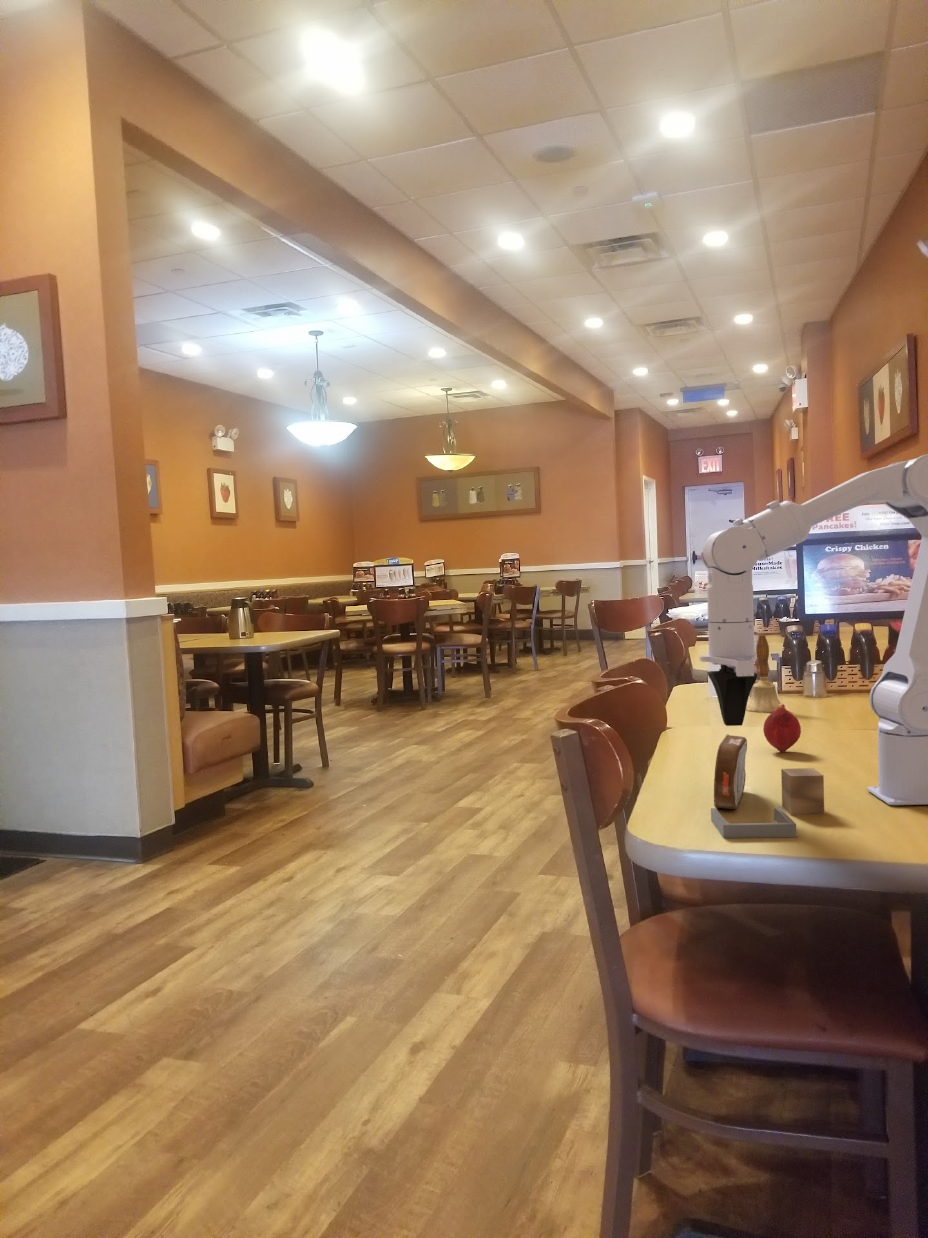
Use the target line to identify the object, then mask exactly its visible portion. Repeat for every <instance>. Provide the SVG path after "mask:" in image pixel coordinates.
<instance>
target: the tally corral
mask: <svg viewBox="0 0 928 1238" xmlns="http://www.w3.org/2000/svg"><path fill="white" fill-rule="evenodd" d="M710 819H711V820H710V821H711V822H712V824H713V825H714V826H715V828H716V829H717V831H718V833H719V834H720V835H721V837H722V838H723V839H737V838H739V839H743V838H744V839H746V838H747V839H749V838H750V839H751V838H797V823H796V822H795V821H794V820H792V817H791V818H790V817H789V815H788V814H787V813H785V811H783V809H782V808H781V807H779V806H773V820H774V821H775V822H754V823H753V822H747V823H745V822H743V823H737V822H736V823H728V822H727V821H726V819H725V818H724V817H723V816H722V814H721V813H720V812H719V811H718V808H715V807H714V808H713V807H711V808H710Z"/></svg>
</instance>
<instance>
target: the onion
mask: <svg viewBox="0 0 928 1238" xmlns="http://www.w3.org/2000/svg"><path fill="white" fill-rule="evenodd" d="M801 727H802V726H801V723H800V721H799V720H798V718H797V717H796V715H794V714H793V713H792V712H791V711H789V710H788V709H786V705H785V704H784V703H781V704H779V705H778V708H777V710H775V711H774V712H772V713H769V715H768V716H767V718H766V719H765V721H764V724H763V727H762V728H763V735H764V737H765V739H766V741H767V742H768V743H769V744H770V746H772V747H773V748H775V749H776V750H777V751H779V752H781V753H785V752H787V751H788V750H789V749H790V748H791V747H793V746H794V745H795V743H797V742H798V741H799V739H800V738H801V733H802V729H801Z"/></svg>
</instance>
